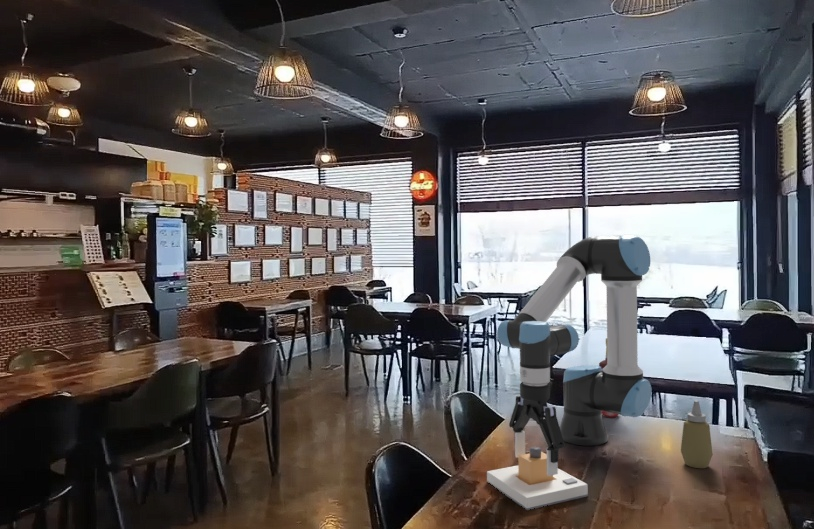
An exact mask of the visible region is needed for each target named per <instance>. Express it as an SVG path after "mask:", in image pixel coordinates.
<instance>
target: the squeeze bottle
mask: <svg viewBox="0 0 814 529" xmlns="http://www.w3.org/2000/svg"><path fill="white" fill-rule="evenodd" d="M692 405H693V406H692V409H691V411H690V412H687V416H686V417H687V419H686V420H685V421H683V426H682V434H681V444H680V453H681V455H682V456H681V457H682V459H683V460H684V464H685V465H686V466H688V467H690V468H695V469H706V468H709V465H710V463H711V460H712V459H713V458H712V457H713V455H714V454H713V447H712V436H711V428H710V423H708V422H707V417H706V416H707V415H706V414H705V413H702V410H701V407H700V401H699V400H694V401H693V404H692Z"/></svg>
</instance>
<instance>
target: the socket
mask: <svg viewBox="0 0 814 529" xmlns="http://www.w3.org/2000/svg"><path fill="white" fill-rule="evenodd" d="M487 482H488V483H490V484H491V485H493V486H494V487H495V488H494V487H493V486H492V487H493V488H494V489H496V488H497V489H498V490H499V491H498V492H500V493H501V492H502V494H503V495H504V494H505V495H504V496H506V497H507V498H509V499H510V500H511V499H512V501H513V502H514V503H516V504H517V505H519V506H520V507H521V506H522V507H521V508H523V509H524V508H525V509H524V510H526V511H530V509H531V510H535V509H539V508H544V507H547V505H548V506H552V505H556V504H560V503H565V502H569V501H573V500H577V499H583V498H587V497H588V495H589V494H588V493H589V492H588V490H589V489H588V486H589V485H588V483H586V482H584V481H582V480H581V479H579V478H576V477H575V476H573V475H570V474H569V472H568V473H567V472H566V471H564V470H562V469H560V468H558V474H555V475H553V480H552V481H547V482H542V483H538V484H533V485H528V484H527V483H525V482H523V481H522V480H520V479H519V469H518V464H517V465H513V466H508V467H503V468H502V467H501V468H498V469H492V470H487V471H486V483H487ZM488 483H487V484H488ZM490 484H489V485H490ZM491 485H490V486H491ZM497 489H496V490H497ZM543 506H544V507H543ZM534 508H535V509H534Z"/></svg>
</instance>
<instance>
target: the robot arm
mask: <svg viewBox="0 0 814 529" xmlns="http://www.w3.org/2000/svg"><path fill="white" fill-rule="evenodd" d="M650 267H651V255H650V250H649V248H648V245H647V243H646V242H645V241H644V239H643V238H641V237H640V236H637V235H626V234H624V235H603V236H602V235H601V236H599V235H596V236H595V235H594V236H589V237H586V238H583V239H581V240H579V241H577V242H576V243H575V244H573V245H572V246H571V247H569V248H568V249H567V250H566V251H565V252H564V253H563V254H562V255H561V256H560V258H558V259H557V261H556V268H554V270H553V271H552V272H551V274H550V275H549V276H548V277H547V278H546V279H545V281H544V282H543V283H542V285H541V286H540V287H539V288H538V289H537V291H536V292H535V293H534V294H533V296H532V297H531V298H530V299H529V301H528V302H527V303H526V304H525V305H524V307H523V308H522V309H521V310H520V311H519V312H518V314H517V315H516V316H515V317H514V319H513V320H512V319H508V320H503V321H501V322H500V323H499V325H498V327H497V330H496V332H497V333H496V336H497V339H498V342H499V343H500V344H501V345H502V346H504V347H508V348H511V349H518V350H519V381H520V384H519V395H517V396H515V404H514V407H513V411H512V414H511V417H510V420H509V423H508V426H509V428H512V430H513V432H514V453H515V454H514V456H515V457H514V458H517V459H518V455H523V454H526V432H525V431H526V426H527V425H528V422H529V421H530V420H533V421H535V423H536V424H537V425H538V426H539V428H540V430H541V432H542V434H543V437H544V439H545V441H546V443H547V448H546V454H547V475H548V476H551V475H555V474H558V469H559V468H558V466H559V450H561V449H565V446H566V445H565V443H568V444H572V445H577V446H586V447H587V446H588V447H589V446H599V445H603V444H605V443H606V442H608V438H609V437H608V431H607V428H606V424H605V421H604V419H603V415H602V411H606V412H611V413H615V414H619V415H620V416H621V417H629V418H630V417H631V418H638V417H640V416H642V415H643V414H644V413H645V412H646V410H647V409H648V407H649V404H650V403H651V397H652V390H653V389H652V385H651V382H650V381H649V380H648V379H646V378H644V370H643V369H642V368H641V367H640V366H639V365H638V361H639V360H638V359H639V358H638V285H639V284H641V283H642V281H643V276H645V275H647V274H648V273H649V271H650ZM595 274H596V275H597V274H598V275H600V281H601V282H602V283H603V284H604V285H605V286H606V338H607V365H606V366H605V367H604V368H603V369H601V367H600V366H599V365H594V364H592V365H591V364H590V365H589V364H587V365H586V364H585V365H575V366H570V367H568V368H567V367H566V369H565V370H564V372H563V381H562V383H563V415H562V417H561V421H560V424H559V420H558V417H557V410H556V409H557V408H556V407H555V406H548V402H547V401H548V400H549V399H550V398H551V385H550V382H551V362H550V361H551V357H554V356H559V355H565V354H568V353H569V352H570V353H571V352H573V351H575V349H576V348H577V347H578V345H579V340H580V338H579V337H580V336H579V333H578V331H577V329H575V328H574V326H572V325H570V324H562V323H560V324H557V325H553V324H549V323H548V322H547V321H548V320H549V319H550V317H551V316H552V315H553V314H554V312H555V311H556V309H557V308H558V307H559V306H560V305H561V303H562V302H563V301H564V300H565V298H566V297H567V296H568V294H569V293H570V292H571V291H572V290H573V288H574V286H576V284H577V283H578V282H579V283H580V282H582V281H583V280H584V279H585V278H586V277H587V276H588V275H595ZM619 415H618V416H619Z"/></svg>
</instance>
